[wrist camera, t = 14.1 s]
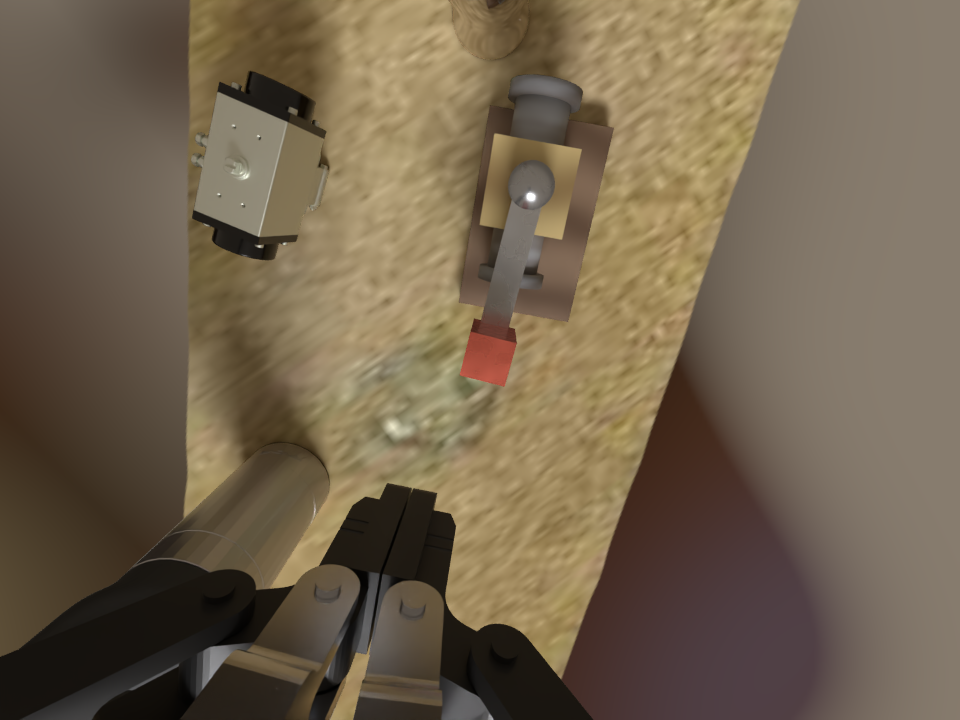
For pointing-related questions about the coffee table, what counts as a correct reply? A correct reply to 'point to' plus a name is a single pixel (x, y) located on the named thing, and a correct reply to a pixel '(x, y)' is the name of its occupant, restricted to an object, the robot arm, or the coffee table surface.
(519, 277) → the valve lever
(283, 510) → the robot arm
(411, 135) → the coffee table surface
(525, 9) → the beer glass
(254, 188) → the pneumatic valve
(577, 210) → the valve pipe
